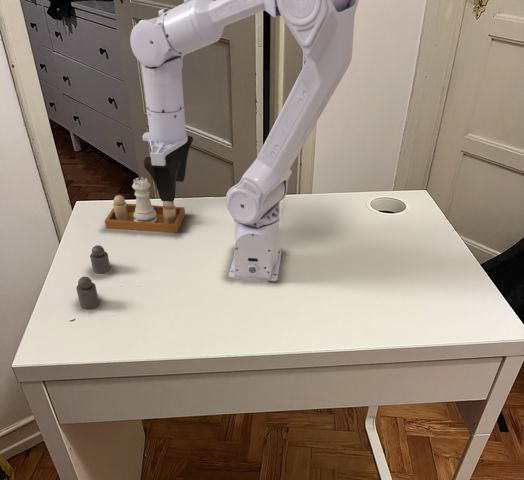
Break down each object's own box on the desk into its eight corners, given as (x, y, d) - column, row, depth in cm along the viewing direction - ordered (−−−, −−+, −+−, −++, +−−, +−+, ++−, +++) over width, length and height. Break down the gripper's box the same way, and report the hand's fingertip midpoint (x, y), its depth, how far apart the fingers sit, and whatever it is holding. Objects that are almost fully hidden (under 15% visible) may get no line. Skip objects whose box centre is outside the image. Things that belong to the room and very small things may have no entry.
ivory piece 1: (126, 223, 105) (123, 198, 102) (114, 222, 105) (110, 198, 102) (130, 216, 107) (126, 193, 104) (118, 216, 107) (114, 192, 104)
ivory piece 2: (175, 226, 105) (173, 202, 101) (162, 225, 105) (160, 201, 102) (178, 220, 106) (176, 196, 103) (165, 219, 106) (163, 195, 103)
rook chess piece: (161, 223, 105) (156, 183, 100) (138, 229, 103) (132, 187, 98) (153, 213, 108) (148, 173, 103) (130, 218, 106) (124, 177, 101)
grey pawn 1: (95, 310, 86) (89, 283, 82) (77, 308, 86) (71, 282, 83) (101, 299, 88) (96, 273, 84) (84, 298, 88) (78, 271, 85)
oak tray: (177, 235, 103) (176, 225, 102) (106, 230, 104) (104, 220, 103) (185, 216, 108) (184, 207, 107) (118, 212, 109) (116, 202, 108)
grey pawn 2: (107, 276, 92) (102, 251, 89) (91, 275, 93) (85, 250, 89) (113, 267, 94) (108, 242, 91) (96, 266, 95) (91, 241, 92)
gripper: (151, 91, 93) (160, 171, 102) (126, 121, 82) (138, 208, 91) (194, 93, 92) (199, 173, 101) (174, 124, 81) (181, 211, 90)
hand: (173, 190), depth 96 cm, fingers open, 7 cm apart
